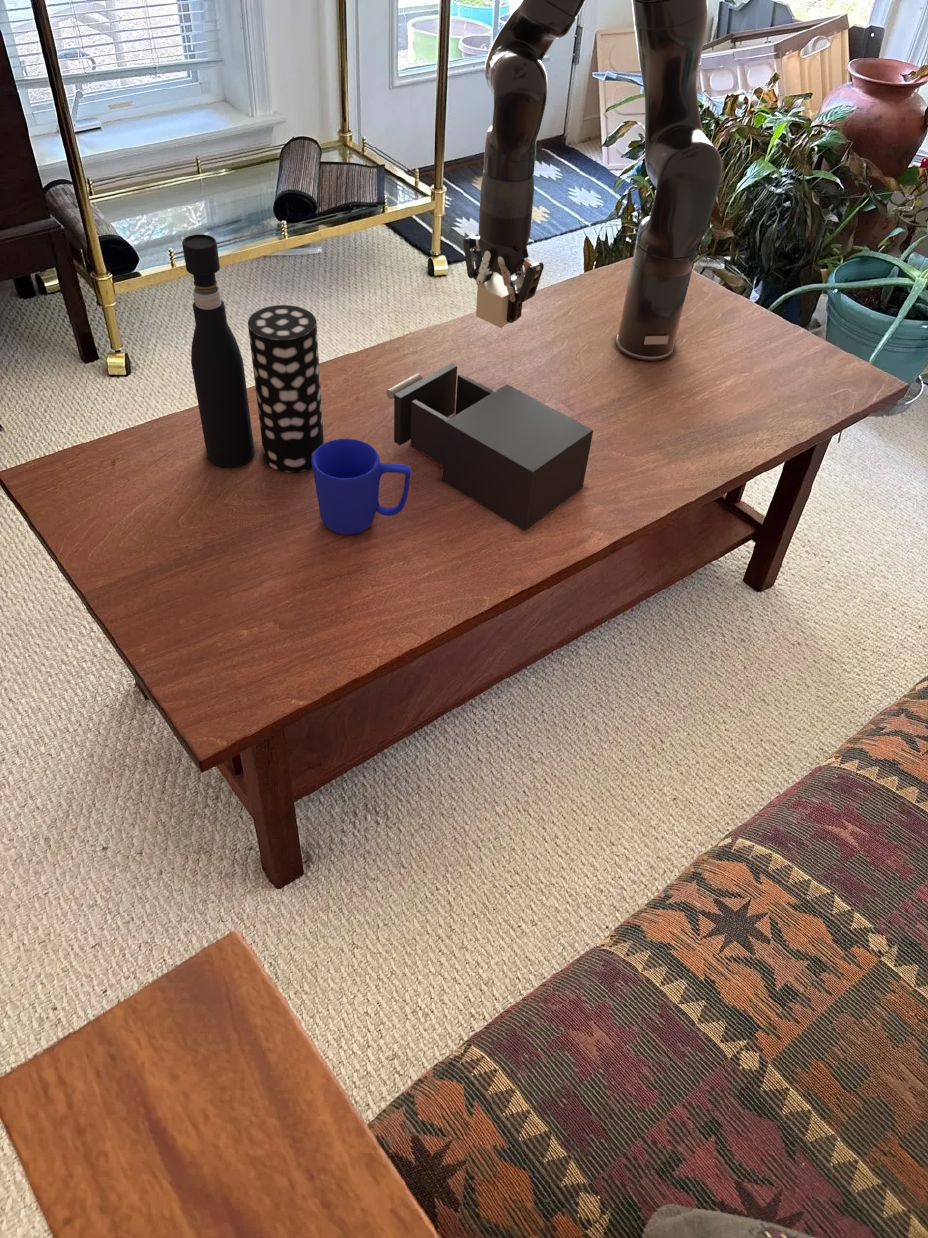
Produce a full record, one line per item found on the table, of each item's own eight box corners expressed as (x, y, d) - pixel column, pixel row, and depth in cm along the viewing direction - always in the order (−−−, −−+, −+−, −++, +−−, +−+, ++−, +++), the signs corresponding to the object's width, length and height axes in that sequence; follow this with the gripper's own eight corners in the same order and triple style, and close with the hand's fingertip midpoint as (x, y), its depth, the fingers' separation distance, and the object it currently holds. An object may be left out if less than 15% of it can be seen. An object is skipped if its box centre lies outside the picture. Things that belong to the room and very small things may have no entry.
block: (475, 315, 147) (477, 285, 143) (496, 304, 149) (498, 274, 146) (500, 328, 145) (502, 297, 141) (521, 316, 147) (523, 286, 143)
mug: (407, 545, 120) (409, 483, 112) (312, 540, 119) (307, 477, 112) (411, 503, 125) (413, 441, 118) (320, 498, 125) (315, 435, 118)
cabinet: (441, 480, 129) (444, 421, 122) (501, 441, 136) (507, 383, 129) (524, 531, 123) (532, 472, 116) (582, 487, 129) (593, 429, 122)
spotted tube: (292, 428, 135) (280, 298, 120) (336, 451, 132) (330, 320, 117) (250, 456, 130) (233, 323, 116) (296, 480, 127) (284, 347, 112)
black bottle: (215, 472, 127) (179, 258, 105) (201, 446, 131) (163, 233, 109) (261, 461, 129) (235, 248, 108) (245, 435, 133) (217, 224, 111)
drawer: (372, 429, 134) (372, 381, 129) (427, 397, 141) (429, 350, 135) (466, 485, 127) (469, 438, 121) (519, 449, 133) (525, 402, 127)
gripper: (562, 212, 133) (549, 322, 146) (485, 180, 139) (479, 289, 152) (529, 228, 129) (518, 340, 142) (451, 195, 135) (447, 305, 148)
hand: (498, 313), depth 147 cm, fingers closed on block, 5 cm apart
